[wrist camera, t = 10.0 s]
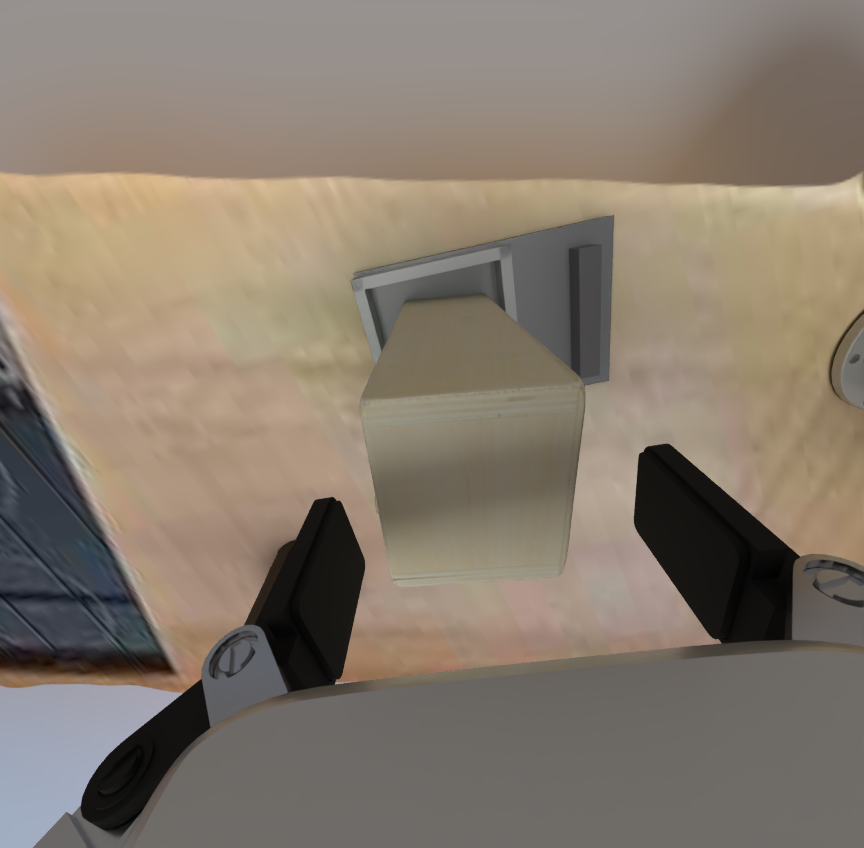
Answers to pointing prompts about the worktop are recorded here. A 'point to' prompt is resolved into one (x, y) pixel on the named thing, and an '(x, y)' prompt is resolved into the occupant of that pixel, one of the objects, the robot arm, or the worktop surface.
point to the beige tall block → (471, 445)
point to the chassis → (513, 289)
